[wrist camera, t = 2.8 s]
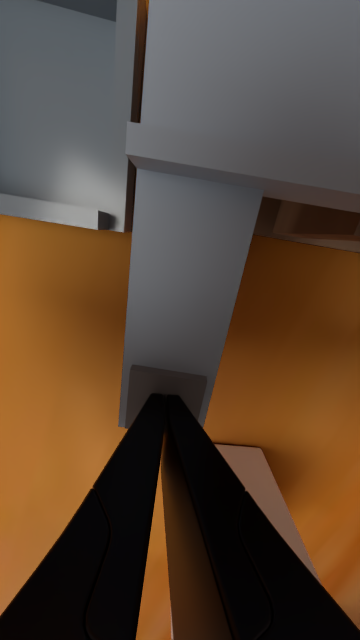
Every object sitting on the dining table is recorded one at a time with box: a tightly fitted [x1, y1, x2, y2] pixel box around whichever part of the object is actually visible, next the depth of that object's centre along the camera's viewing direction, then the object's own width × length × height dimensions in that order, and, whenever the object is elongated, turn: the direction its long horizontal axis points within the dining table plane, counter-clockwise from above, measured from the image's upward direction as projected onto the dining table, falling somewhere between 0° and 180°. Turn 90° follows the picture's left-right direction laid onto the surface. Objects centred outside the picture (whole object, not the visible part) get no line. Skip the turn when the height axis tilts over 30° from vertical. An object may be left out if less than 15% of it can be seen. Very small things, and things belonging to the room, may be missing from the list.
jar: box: [171, 444, 322, 640], centre depth 13 cm, size 9×8×12 cm
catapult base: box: [253, 196, 360, 253], centre depth 8 cm, size 15×6×6 cm, turn 81°
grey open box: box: [0, 0, 147, 232], centre depth 7 cm, size 8×8×4 cm
